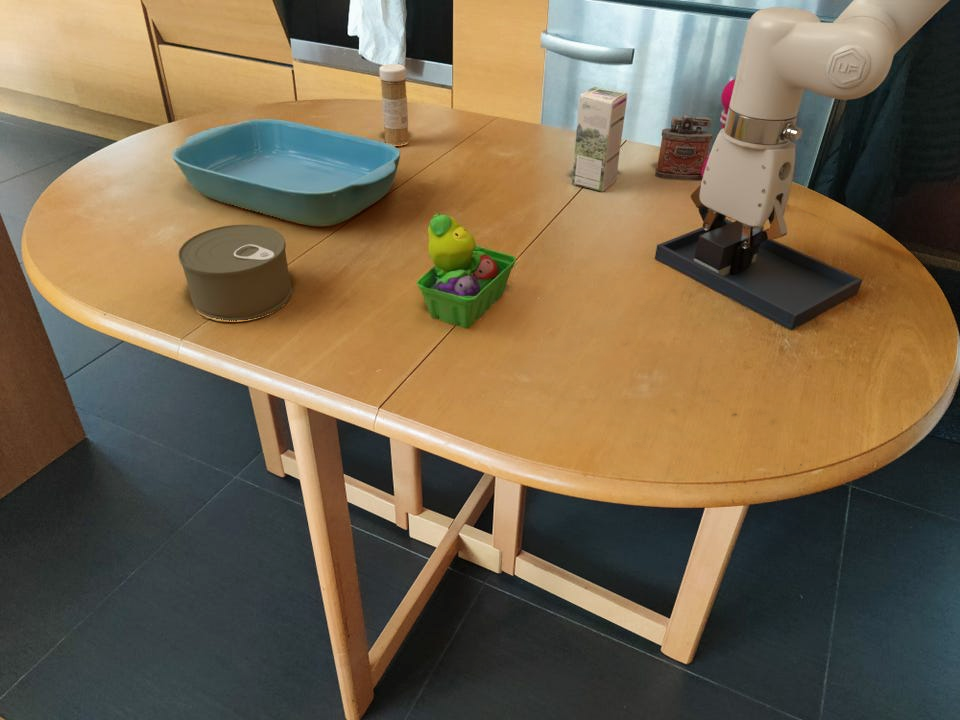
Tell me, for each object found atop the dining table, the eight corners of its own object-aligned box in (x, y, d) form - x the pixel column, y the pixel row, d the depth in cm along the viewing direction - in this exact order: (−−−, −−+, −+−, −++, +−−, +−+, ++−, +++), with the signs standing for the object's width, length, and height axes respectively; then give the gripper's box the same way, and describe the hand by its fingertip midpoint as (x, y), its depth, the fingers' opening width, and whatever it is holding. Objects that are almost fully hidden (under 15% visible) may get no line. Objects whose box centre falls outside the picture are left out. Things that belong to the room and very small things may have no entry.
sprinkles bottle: (397, 137, 133) (393, 61, 125) (414, 143, 131) (411, 66, 123) (379, 143, 130) (373, 66, 122) (396, 149, 128) (391, 71, 120)
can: (234, 265, 94) (223, 217, 90) (312, 284, 90) (305, 235, 86) (169, 310, 85) (154, 259, 81) (253, 333, 81) (242, 281, 77)
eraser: (755, 261, 95) (764, 231, 92) (716, 279, 91) (724, 247, 89) (730, 249, 98) (738, 219, 95) (692, 266, 94) (699, 235, 91)
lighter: (655, 178, 119) (665, 118, 113) (654, 170, 122) (664, 111, 116) (704, 181, 118) (717, 121, 112) (702, 173, 121) (714, 114, 115)
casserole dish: (153, 194, 111) (141, 149, 107) (255, 149, 127) (248, 109, 123) (341, 251, 97) (336, 202, 93) (430, 193, 113) (428, 149, 109)
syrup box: (617, 181, 118) (629, 91, 109) (601, 193, 114) (613, 101, 105) (586, 173, 120) (595, 85, 112) (569, 185, 116) (578, 94, 108)
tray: (857, 294, 90) (863, 279, 89) (791, 330, 83) (795, 315, 82) (721, 231, 104) (724, 218, 102) (654, 258, 97) (656, 244, 95)
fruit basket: (472, 338, 81) (472, 249, 74) (406, 317, 84) (401, 230, 78) (517, 293, 89) (521, 209, 82) (455, 275, 92) (455, 193, 86)
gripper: (842, 141, 80) (795, 282, 91) (721, 102, 91) (693, 232, 102) (803, 154, 76) (759, 300, 87) (682, 112, 87) (657, 246, 98)
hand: (724, 262), depth 94 cm, fingers closed on eraser, 4 cm apart
